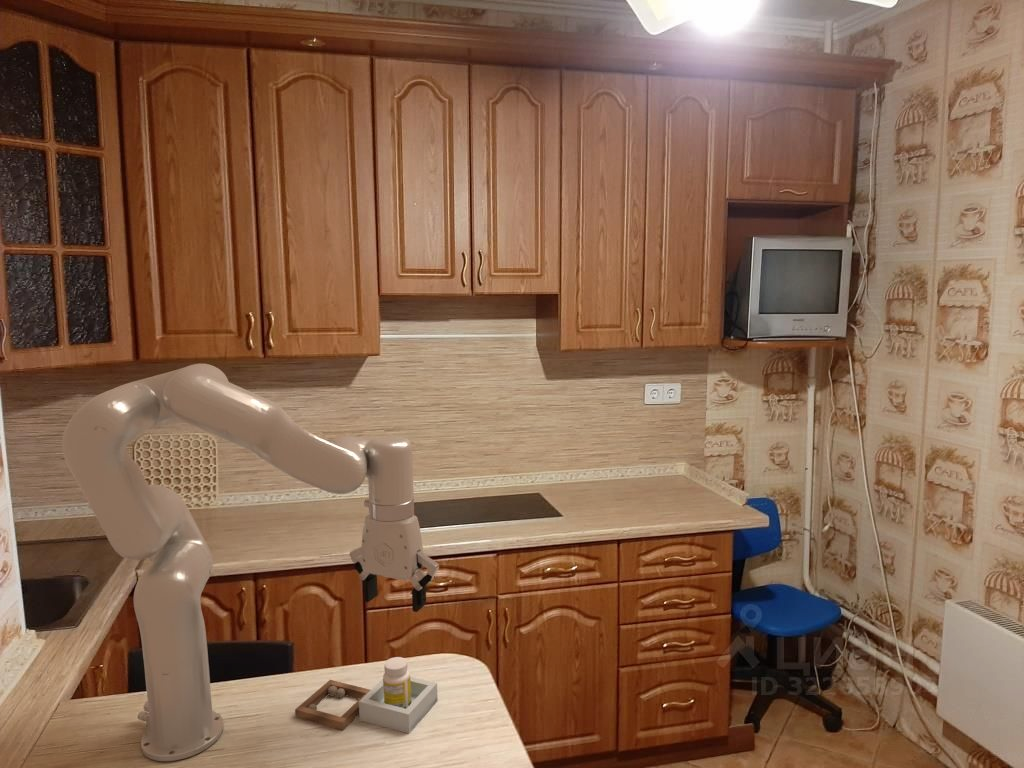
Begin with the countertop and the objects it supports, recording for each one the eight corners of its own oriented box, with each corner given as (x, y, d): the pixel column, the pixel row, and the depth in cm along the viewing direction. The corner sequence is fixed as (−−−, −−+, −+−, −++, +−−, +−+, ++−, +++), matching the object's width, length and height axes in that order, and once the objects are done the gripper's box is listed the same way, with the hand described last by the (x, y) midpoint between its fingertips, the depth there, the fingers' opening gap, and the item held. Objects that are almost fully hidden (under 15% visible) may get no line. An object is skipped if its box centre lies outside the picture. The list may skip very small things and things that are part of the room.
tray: (295, 717, 125) (294, 707, 124) (330, 687, 134) (330, 678, 134) (342, 730, 121) (342, 720, 121) (375, 698, 130) (375, 689, 130)
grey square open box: (359, 720, 124) (358, 701, 123) (390, 689, 133) (389, 672, 132) (409, 733, 120) (408, 714, 119) (437, 700, 129) (437, 683, 129)
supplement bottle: (399, 695, 129) (397, 652, 128) (417, 705, 126) (415, 661, 125) (378, 708, 126) (376, 664, 124) (396, 718, 123) (394, 673, 122)
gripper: (336, 509, 121) (340, 604, 123) (425, 522, 114) (427, 622, 117) (361, 497, 128) (365, 587, 130) (447, 508, 121) (448, 603, 124)
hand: (394, 603), depth 123 cm, fingers open, 9 cm apart
